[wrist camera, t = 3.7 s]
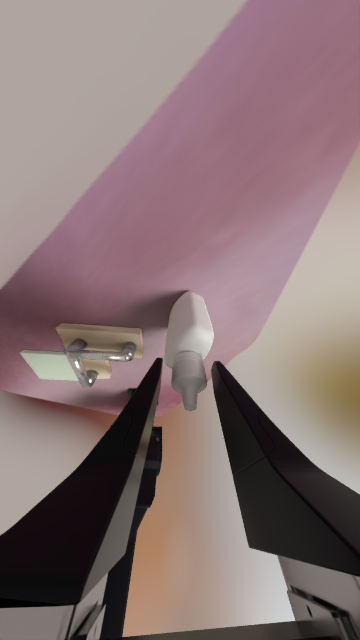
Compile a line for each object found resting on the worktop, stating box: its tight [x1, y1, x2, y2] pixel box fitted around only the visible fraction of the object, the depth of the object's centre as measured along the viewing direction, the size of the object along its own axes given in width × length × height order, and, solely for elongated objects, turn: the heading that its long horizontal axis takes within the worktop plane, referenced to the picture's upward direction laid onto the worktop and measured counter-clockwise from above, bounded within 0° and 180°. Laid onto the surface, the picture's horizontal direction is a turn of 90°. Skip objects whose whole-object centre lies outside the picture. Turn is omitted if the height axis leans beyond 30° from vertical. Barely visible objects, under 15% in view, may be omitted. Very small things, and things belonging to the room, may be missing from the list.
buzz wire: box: [56, 323, 143, 388], centre depth 21 cm, size 11×11×4 cm
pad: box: [20, 350, 79, 381], centre depth 23 cm, size 7×7×1 cm
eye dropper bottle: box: [164, 291, 214, 411], centre depth 13 cm, size 4×6×12 cm
